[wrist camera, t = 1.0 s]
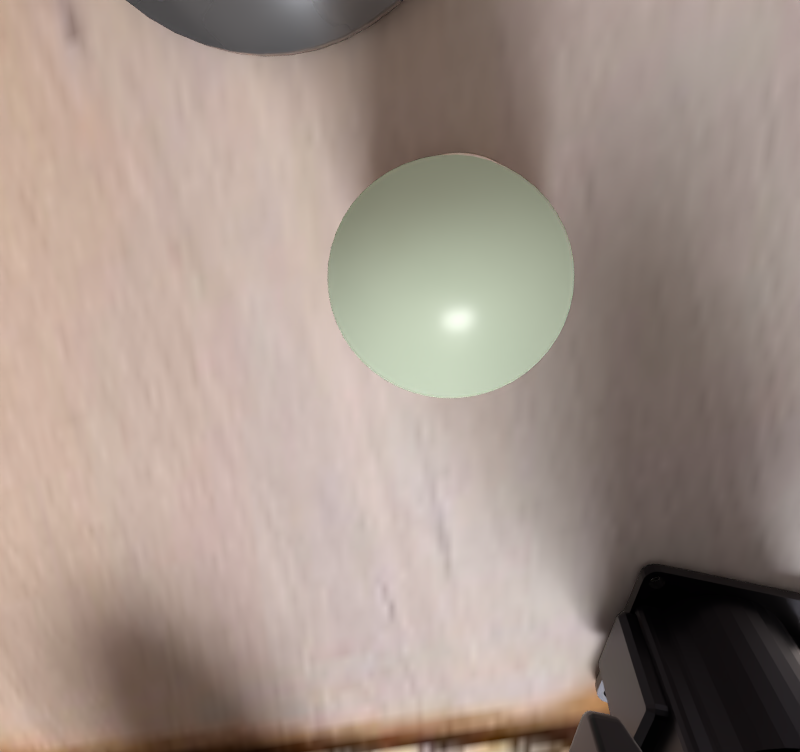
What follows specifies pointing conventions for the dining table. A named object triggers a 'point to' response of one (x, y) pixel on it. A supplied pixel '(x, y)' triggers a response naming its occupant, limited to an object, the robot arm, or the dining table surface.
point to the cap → (451, 276)
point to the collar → (266, 22)
